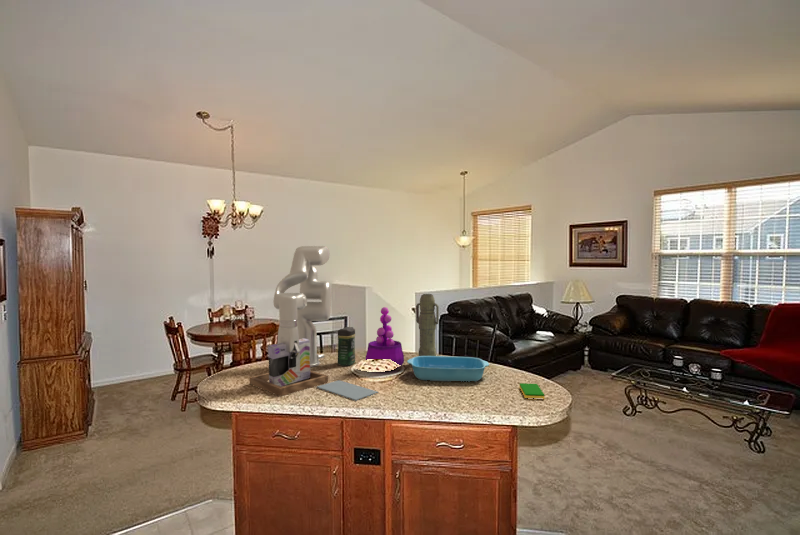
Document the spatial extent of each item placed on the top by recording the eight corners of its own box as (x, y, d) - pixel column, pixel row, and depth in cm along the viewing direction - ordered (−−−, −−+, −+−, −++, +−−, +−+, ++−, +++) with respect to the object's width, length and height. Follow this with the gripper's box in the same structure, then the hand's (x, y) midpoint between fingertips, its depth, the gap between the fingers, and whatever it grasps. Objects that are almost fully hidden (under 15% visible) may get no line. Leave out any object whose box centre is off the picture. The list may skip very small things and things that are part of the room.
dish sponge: (525, 400, 163) (525, 393, 163) (519, 388, 176) (519, 383, 176) (544, 400, 162) (544, 394, 162) (537, 389, 176) (537, 383, 175)
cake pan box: (272, 389, 175) (271, 346, 174) (266, 386, 178) (265, 344, 177) (311, 378, 188) (310, 339, 188) (305, 376, 192) (304, 337, 191)
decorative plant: (361, 365, 212) (361, 305, 211) (397, 362, 218) (397, 304, 217) (370, 375, 194) (370, 310, 193) (409, 372, 200) (409, 308, 199)
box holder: (296, 372, 199) (296, 366, 199) (328, 382, 184) (328, 375, 184) (249, 384, 182) (249, 377, 182) (280, 396, 166) (280, 388, 166)
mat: (339, 381, 185) (339, 380, 185) (378, 393, 170) (378, 391, 170) (316, 387, 177) (316, 386, 176) (356, 401, 161) (356, 399, 161)
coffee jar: (350, 366, 209) (349, 329, 209) (335, 365, 212) (335, 328, 211) (357, 362, 219) (357, 326, 218) (343, 361, 221) (343, 325, 220)
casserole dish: (485, 370, 203) (485, 355, 203) (492, 384, 181) (492, 368, 181) (408, 369, 206) (408, 354, 206) (405, 383, 184) (405, 366, 183)
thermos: (418, 359, 224) (418, 293, 223) (440, 361, 220) (440, 293, 219) (413, 363, 215) (413, 294, 214) (436, 365, 212) (436, 295, 211)
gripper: (270, 322, 185) (270, 364, 186) (292, 327, 174) (293, 371, 175) (284, 320, 191) (285, 361, 191) (307, 325, 179) (308, 367, 180)
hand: (289, 365), depth 183 cm, fingers closed on cake pan box, 4 cm apart
